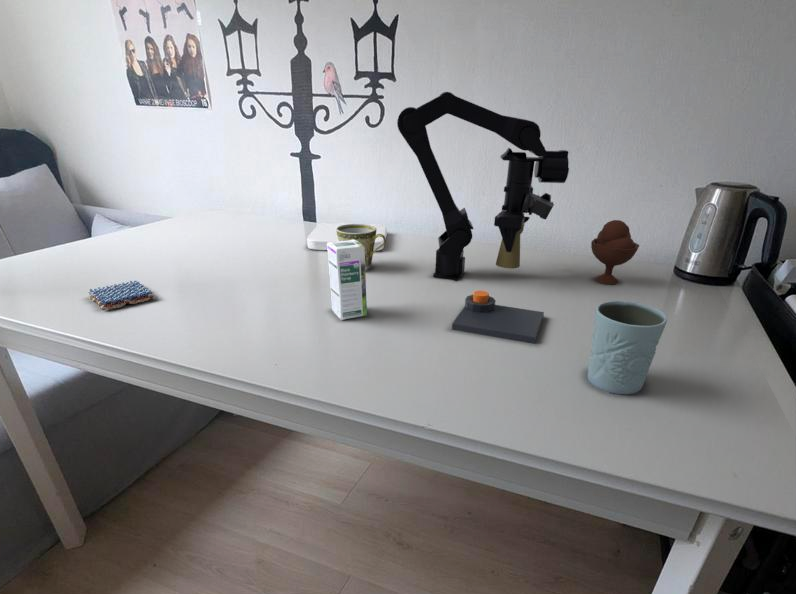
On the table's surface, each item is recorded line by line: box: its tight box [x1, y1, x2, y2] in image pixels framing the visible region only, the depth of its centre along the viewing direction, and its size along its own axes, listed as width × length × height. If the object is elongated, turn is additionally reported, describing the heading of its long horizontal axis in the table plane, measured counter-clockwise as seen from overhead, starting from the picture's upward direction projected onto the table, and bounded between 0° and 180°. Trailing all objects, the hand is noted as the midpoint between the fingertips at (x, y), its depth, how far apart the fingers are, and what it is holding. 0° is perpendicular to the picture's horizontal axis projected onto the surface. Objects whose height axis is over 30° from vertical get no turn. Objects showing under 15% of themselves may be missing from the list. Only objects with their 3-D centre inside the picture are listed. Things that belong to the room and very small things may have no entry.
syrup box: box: [326, 239, 368, 321], centre depth 97 cm, size 6×6×14 cm
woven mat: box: [88, 280, 156, 311], centre depth 103 cm, size 10×11×2 cm
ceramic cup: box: [336, 223, 387, 272], centre depth 123 cm, size 13×10×10 cm
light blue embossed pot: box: [587, 300, 668, 395], centre depth 76 cm, size 10×10×12 cm
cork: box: [495, 226, 525, 270], centre depth 119 cm, size 6×6×11 cm
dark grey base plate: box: [451, 294, 545, 345], centre depth 97 cm, size 16×14×3 cm
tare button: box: [472, 290, 490, 303], centre depth 101 cm, size 3×3×2 cm
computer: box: [306, 222, 388, 252], centre depth 147 cm, size 22×22×3 cm
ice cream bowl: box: [590, 219, 640, 286], centre depth 118 cm, size 11×11×15 cm
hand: (510, 249), depth 119 cm, fingers closed on cork, 4 cm apart
